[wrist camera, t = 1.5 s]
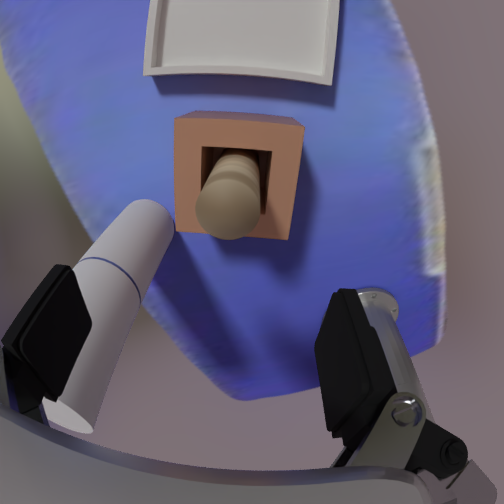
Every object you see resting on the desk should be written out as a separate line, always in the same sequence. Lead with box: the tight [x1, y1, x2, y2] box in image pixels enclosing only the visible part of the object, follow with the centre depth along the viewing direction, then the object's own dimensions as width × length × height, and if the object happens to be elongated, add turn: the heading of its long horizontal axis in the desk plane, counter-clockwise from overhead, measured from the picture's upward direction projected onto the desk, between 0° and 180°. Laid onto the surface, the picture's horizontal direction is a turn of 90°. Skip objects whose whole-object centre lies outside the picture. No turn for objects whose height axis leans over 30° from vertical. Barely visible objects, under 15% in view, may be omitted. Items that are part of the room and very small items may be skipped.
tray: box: [143, 0, 340, 86], centre depth 19 cm, size 16×18×2 cm
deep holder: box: [174, 111, 305, 240], centre depth 26 cm, size 10×10×8 cm
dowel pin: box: [195, 147, 260, 240], centre depth 23 cm, size 4×4×13 cm
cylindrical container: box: [42, 199, 174, 433], centre depth 23 cm, size 7×7×25 cm
